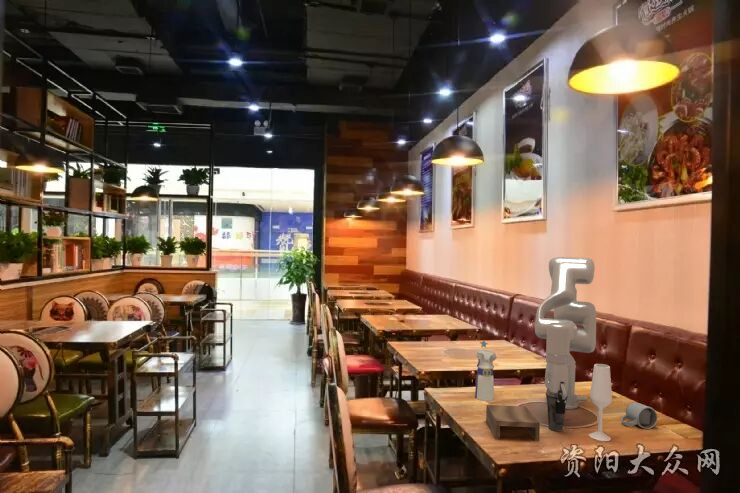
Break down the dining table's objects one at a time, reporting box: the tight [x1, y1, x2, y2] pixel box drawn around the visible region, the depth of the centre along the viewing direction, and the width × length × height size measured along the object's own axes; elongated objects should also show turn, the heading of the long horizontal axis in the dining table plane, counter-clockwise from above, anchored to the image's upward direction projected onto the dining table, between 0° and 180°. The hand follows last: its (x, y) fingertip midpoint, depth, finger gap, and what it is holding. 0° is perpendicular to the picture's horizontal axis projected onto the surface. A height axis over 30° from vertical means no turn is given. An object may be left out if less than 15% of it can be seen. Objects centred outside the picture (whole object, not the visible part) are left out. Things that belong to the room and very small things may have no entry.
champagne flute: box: [588, 363, 613, 442], centre depth 160 cm, size 7×7×24 cm
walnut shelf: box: [485, 404, 541, 442], centre depth 164 cm, size 14×16×6 cm
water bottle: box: [474, 339, 497, 402], centre depth 199 cm, size 8×9×25 cm
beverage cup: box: [545, 387, 568, 432], centre depth 166 cm, size 7×7×20 cm
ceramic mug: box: [620, 402, 658, 430], centre depth 173 cm, size 11×8×8 cm
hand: (556, 409), depth 166 cm, fingers closed on beverage cup, 6 cm apart
